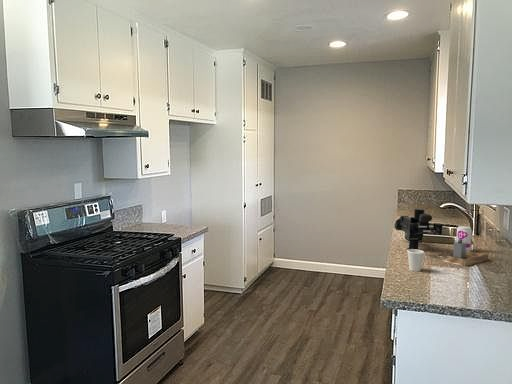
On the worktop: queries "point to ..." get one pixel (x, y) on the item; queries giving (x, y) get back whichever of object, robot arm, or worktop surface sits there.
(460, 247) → the grey knobbed block
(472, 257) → the wooden dish rack
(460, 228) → the sparkling drink can
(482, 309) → the worktop surface
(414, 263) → the dixie cup
